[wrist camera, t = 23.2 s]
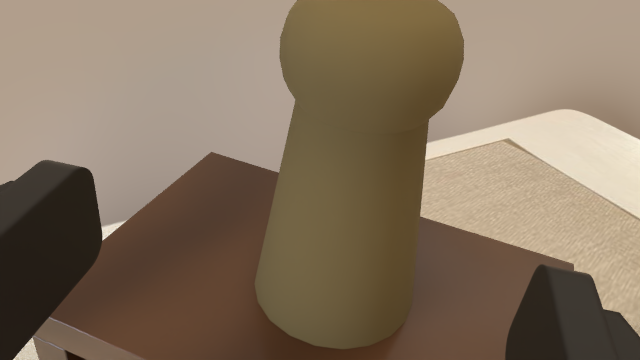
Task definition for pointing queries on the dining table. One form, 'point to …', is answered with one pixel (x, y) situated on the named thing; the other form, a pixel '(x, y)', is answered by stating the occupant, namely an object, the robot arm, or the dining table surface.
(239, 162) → the shelf
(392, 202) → the cork
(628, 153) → the dining table surface
